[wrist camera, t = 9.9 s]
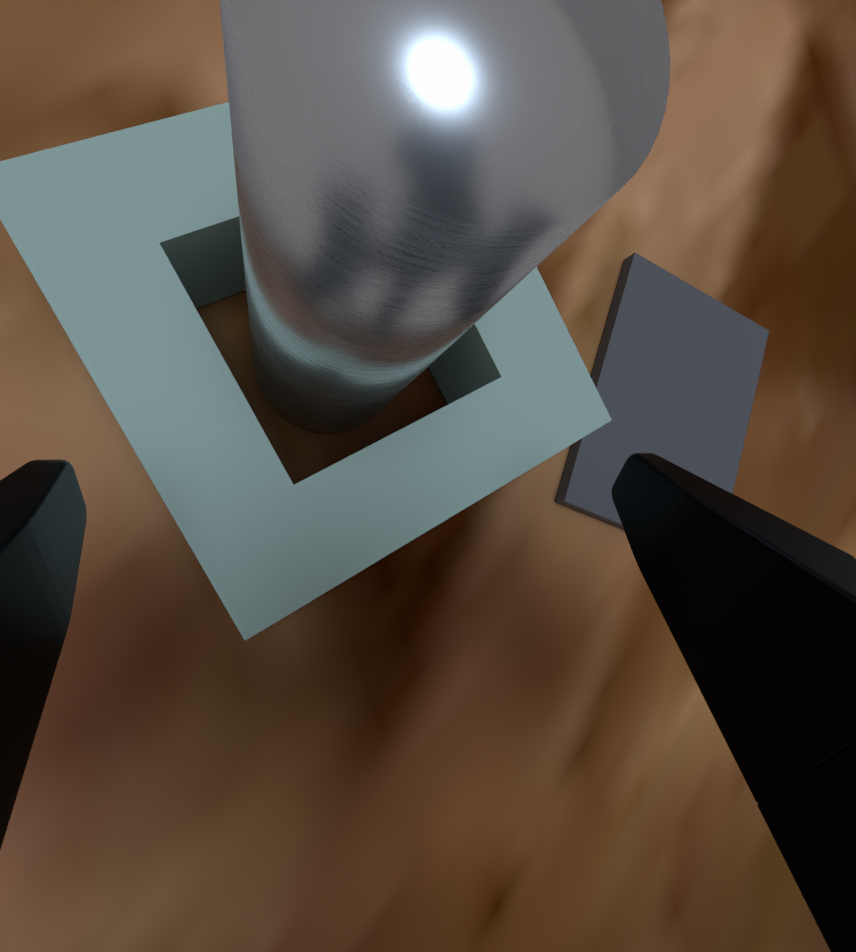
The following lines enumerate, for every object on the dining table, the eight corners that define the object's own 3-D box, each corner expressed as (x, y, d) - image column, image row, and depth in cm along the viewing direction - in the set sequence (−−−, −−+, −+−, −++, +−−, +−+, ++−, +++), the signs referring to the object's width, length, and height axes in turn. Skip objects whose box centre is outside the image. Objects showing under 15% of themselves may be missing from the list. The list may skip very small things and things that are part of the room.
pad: (704, 561, 20) (717, 563, 19) (554, 501, 18) (564, 501, 18) (755, 335, 22) (768, 330, 21) (624, 259, 20) (634, 252, 19)
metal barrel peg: (420, 362, 17) (735, 50, 6) (335, 462, 16) (511, 326, 4) (317, 267, 16) (437, -324, 5) (220, 366, 15) (77, -99, 4)
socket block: (548, 435, 18) (622, 413, 14) (250, 608, 15) (245, 641, 11) (403, 149, 17) (441, 46, 14) (51, 263, 14) (-30, 168, 10)
